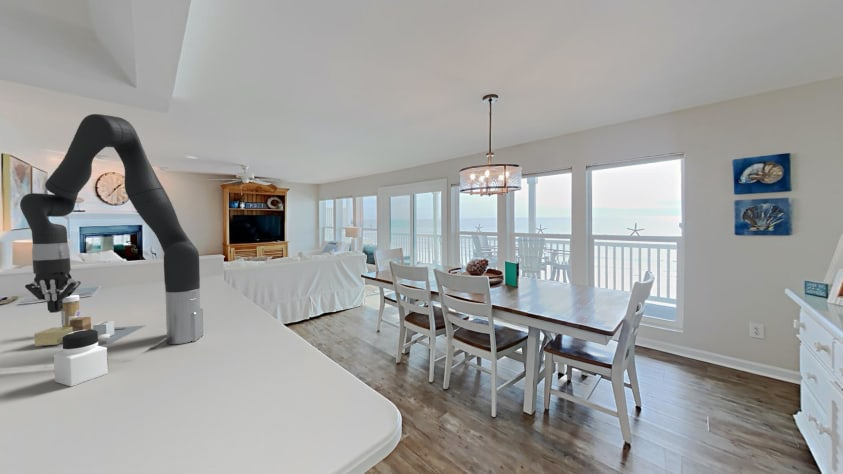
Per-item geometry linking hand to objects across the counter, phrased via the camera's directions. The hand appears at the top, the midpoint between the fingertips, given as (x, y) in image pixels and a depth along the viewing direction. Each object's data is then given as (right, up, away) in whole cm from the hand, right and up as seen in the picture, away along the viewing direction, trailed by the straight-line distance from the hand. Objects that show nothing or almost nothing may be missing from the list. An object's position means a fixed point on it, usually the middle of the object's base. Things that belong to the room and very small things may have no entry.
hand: (55, 311), depth 97 cm
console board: (+5, -11, +6) cm, 14 cm away
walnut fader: (-3, -10, +10) cm, 15 cm away
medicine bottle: (+29, -13, -19) cm, 37 cm away
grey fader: (+10, -10, +5) cm, 15 cm away
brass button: (0, -9, 0) cm, 9 cm away
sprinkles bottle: (-11, -11, +14) cm, 21 cm away
